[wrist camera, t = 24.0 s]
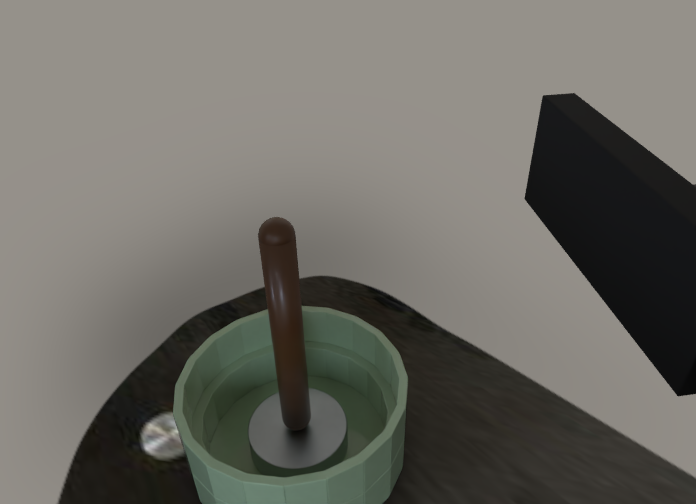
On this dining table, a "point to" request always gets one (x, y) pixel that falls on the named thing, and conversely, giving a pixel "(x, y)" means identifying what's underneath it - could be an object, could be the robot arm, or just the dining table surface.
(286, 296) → the wooden peg on disc
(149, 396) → the dining table surface
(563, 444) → the dining table surface
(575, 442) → the dining table surface
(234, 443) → the bowl
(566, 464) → the dining table surface
